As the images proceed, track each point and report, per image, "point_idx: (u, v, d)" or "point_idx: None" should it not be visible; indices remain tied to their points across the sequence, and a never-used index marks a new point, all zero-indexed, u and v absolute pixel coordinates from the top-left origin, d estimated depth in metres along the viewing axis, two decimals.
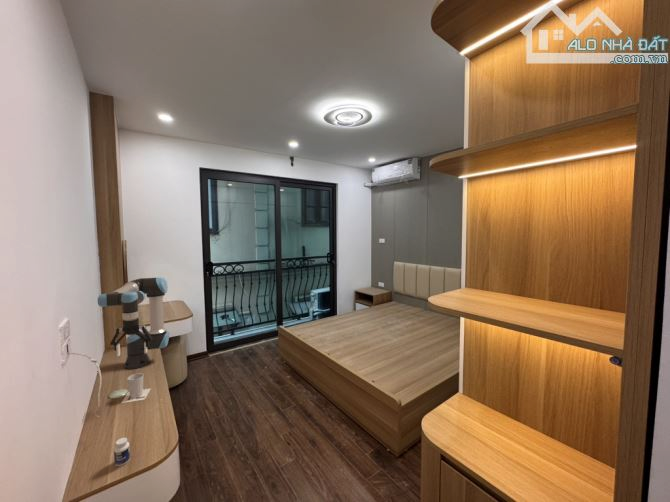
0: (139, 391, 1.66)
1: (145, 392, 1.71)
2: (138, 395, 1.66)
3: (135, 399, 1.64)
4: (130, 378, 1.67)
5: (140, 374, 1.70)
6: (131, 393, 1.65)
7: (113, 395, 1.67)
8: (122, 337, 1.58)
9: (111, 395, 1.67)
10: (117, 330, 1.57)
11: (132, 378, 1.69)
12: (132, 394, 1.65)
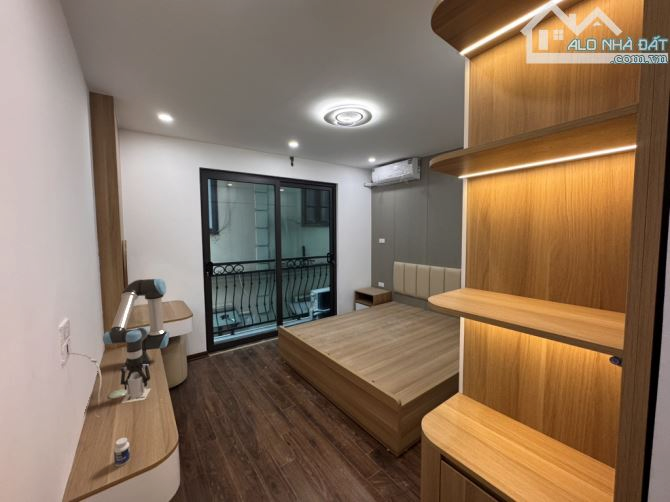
0: (139, 391, 1.66)
1: (145, 392, 1.71)
2: (138, 395, 1.66)
3: (135, 399, 1.64)
4: (130, 378, 1.67)
5: None
6: (131, 393, 1.65)
7: (113, 395, 1.67)
8: (129, 375, 1.65)
9: (111, 395, 1.67)
10: (122, 370, 1.63)
11: (132, 378, 1.69)
12: (132, 394, 1.65)
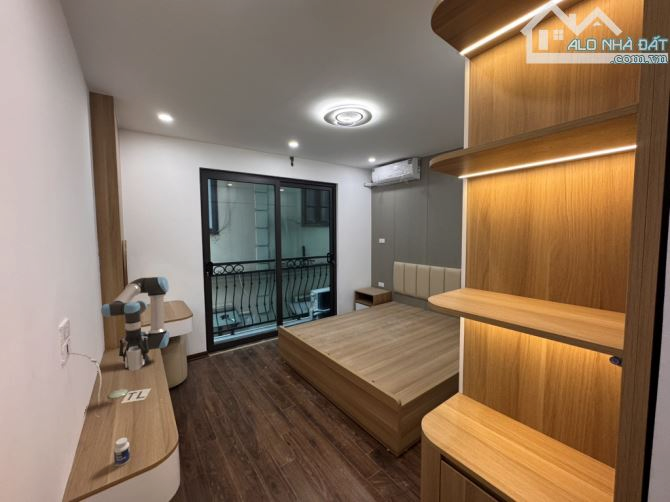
0: (138, 363, 1.65)
1: (145, 392, 1.71)
2: (136, 367, 1.64)
3: (135, 399, 1.64)
4: (129, 350, 1.66)
5: None
6: (130, 365, 1.63)
7: (113, 395, 1.67)
8: (128, 347, 1.63)
9: (111, 395, 1.67)
10: (120, 341, 1.62)
11: (131, 351, 1.67)
12: (131, 366, 1.63)
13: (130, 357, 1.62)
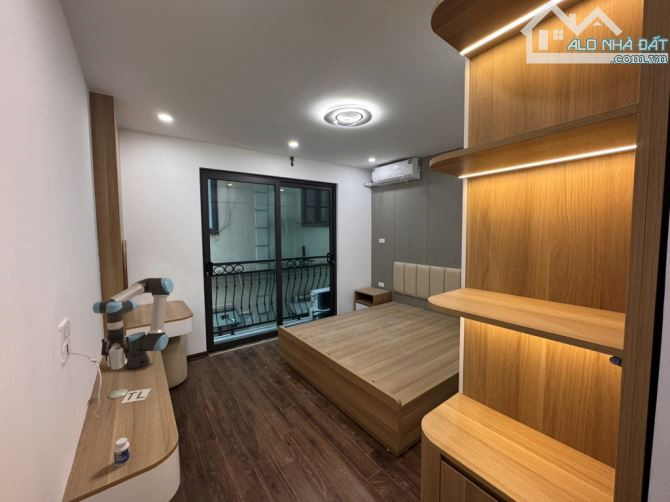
0: (120, 362, 1.66)
1: (145, 392, 1.71)
2: (118, 366, 1.66)
3: (135, 399, 1.64)
4: (111, 350, 1.67)
5: None
6: (112, 364, 1.64)
7: (113, 395, 1.67)
8: (110, 346, 1.65)
9: (111, 395, 1.67)
10: (102, 341, 1.63)
11: (113, 350, 1.68)
12: (113, 365, 1.64)
13: (112, 356, 1.63)
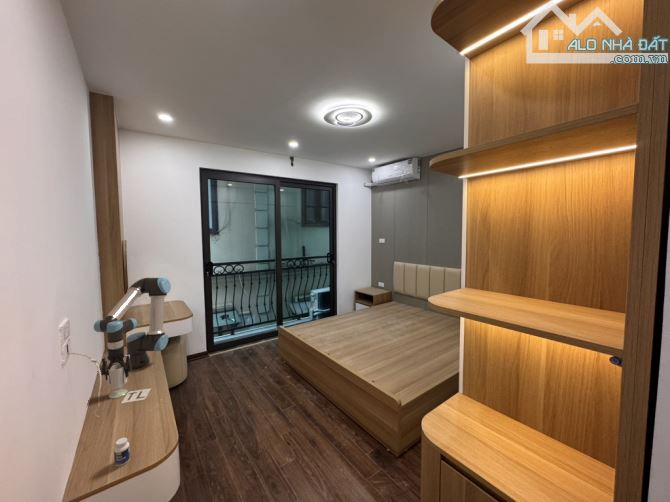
0: (120, 382, 1.67)
1: (145, 392, 1.71)
2: (118, 386, 1.66)
3: (135, 399, 1.64)
4: (111, 369, 1.68)
5: None
6: (112, 383, 1.65)
7: (113, 395, 1.67)
8: (110, 366, 1.65)
9: (111, 395, 1.67)
10: (103, 360, 1.64)
11: (113, 369, 1.69)
12: (113, 384, 1.65)
13: (112, 376, 1.64)
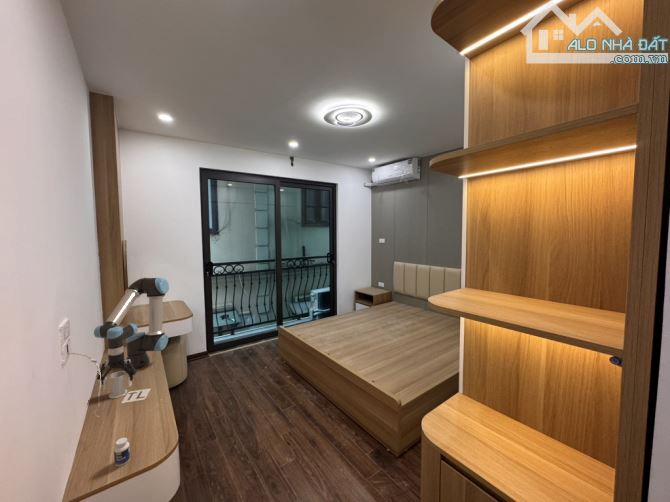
0: (121, 389, 1.67)
1: (145, 392, 1.71)
2: (119, 393, 1.67)
3: (135, 399, 1.64)
4: (112, 376, 1.68)
5: (122, 372, 1.72)
6: (113, 391, 1.66)
7: None
8: (108, 371, 1.65)
9: (111, 395, 1.67)
10: (103, 365, 1.64)
11: (114, 376, 1.70)
12: (114, 392, 1.66)
13: (113, 383, 1.65)
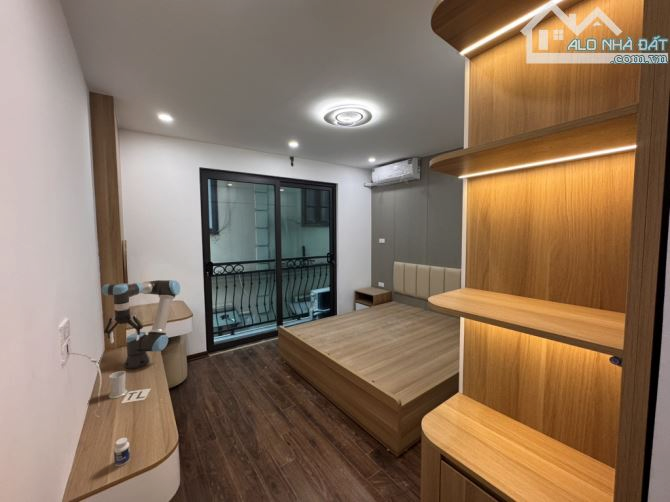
0: (121, 389, 1.67)
1: (145, 392, 1.71)
2: (119, 393, 1.67)
3: (135, 399, 1.64)
4: (112, 376, 1.68)
5: (122, 372, 1.72)
6: (113, 391, 1.66)
7: None
8: (115, 326, 1.72)
9: (111, 395, 1.67)
10: (110, 319, 1.71)
11: (114, 376, 1.70)
12: (114, 392, 1.66)
13: (113, 383, 1.65)
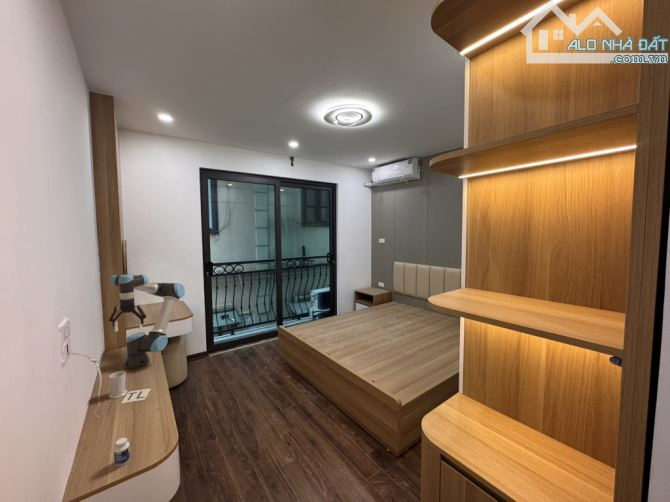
0: (121, 389, 1.67)
1: (145, 392, 1.71)
2: (119, 393, 1.67)
3: (135, 399, 1.64)
4: (112, 376, 1.68)
5: (122, 372, 1.72)
6: (113, 391, 1.66)
7: None
8: (119, 314, 1.78)
9: (111, 395, 1.67)
10: (115, 308, 1.77)
11: (114, 376, 1.70)
12: (114, 392, 1.66)
13: (113, 383, 1.65)
